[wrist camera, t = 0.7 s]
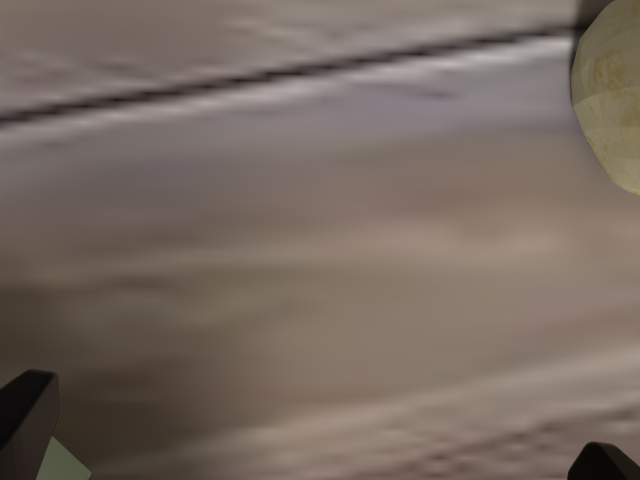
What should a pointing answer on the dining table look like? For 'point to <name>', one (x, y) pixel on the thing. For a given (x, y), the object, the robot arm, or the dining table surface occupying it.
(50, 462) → the green block
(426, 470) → the dining table surface
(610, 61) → the food model
